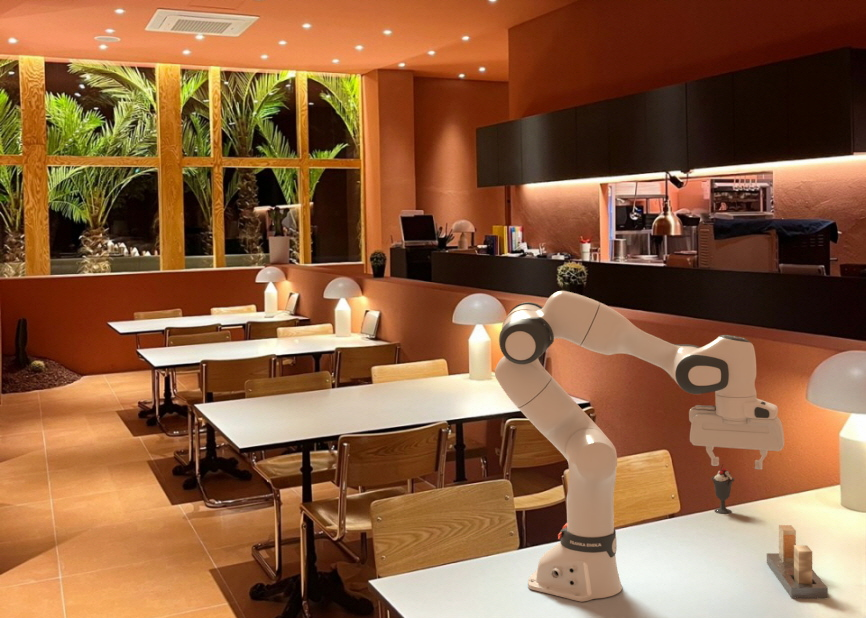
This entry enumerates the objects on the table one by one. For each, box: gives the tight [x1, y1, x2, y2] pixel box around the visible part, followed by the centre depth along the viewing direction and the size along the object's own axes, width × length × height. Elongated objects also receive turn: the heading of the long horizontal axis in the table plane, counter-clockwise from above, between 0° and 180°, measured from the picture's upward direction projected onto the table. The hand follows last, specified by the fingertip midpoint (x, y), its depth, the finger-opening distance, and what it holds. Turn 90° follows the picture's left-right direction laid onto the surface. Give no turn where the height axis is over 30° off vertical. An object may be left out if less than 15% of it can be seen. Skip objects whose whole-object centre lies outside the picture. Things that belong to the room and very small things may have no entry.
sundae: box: [710, 463, 735, 515], centre depth 267 cm, size 7×7×15 cm
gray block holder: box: [766, 524, 829, 599], centre depth 213 cm, size 8×22×10 cm, turn 173°
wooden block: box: [794, 544, 813, 584], centre depth 207 cm, size 3×4×10 cm
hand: (736, 467), depth 201 cm, fingers open, 8 cm apart
